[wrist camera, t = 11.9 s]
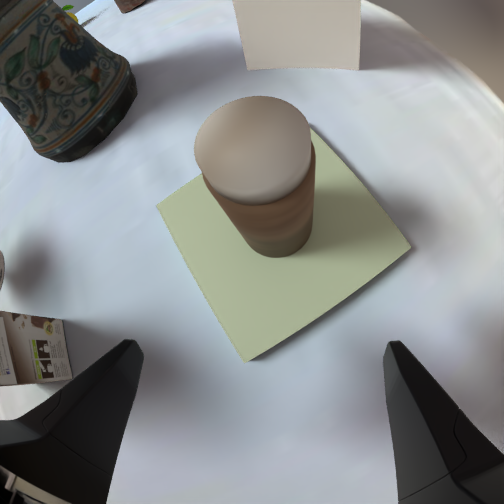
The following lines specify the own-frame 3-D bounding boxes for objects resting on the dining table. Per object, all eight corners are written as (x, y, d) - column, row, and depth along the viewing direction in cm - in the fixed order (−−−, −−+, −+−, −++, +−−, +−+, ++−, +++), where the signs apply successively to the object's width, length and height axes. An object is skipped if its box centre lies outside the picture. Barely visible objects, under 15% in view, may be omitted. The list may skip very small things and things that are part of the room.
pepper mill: (322, 204, 20) (332, 108, 10) (295, 269, 19) (286, 213, 9) (258, 182, 21) (224, 85, 11) (230, 242, 20) (167, 173, 11)
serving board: (406, 251, 19) (411, 247, 18) (248, 361, 19) (244, 363, 18) (298, 124, 23) (297, 115, 22) (162, 210, 23) (156, 205, 22)
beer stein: (129, 141, 26) (-19, -22, 2) (25, 187, 29) (-96, 107, 5) (149, 56, 31) (71, -69, 7) (53, 104, 34) (-30, 22, 10)
